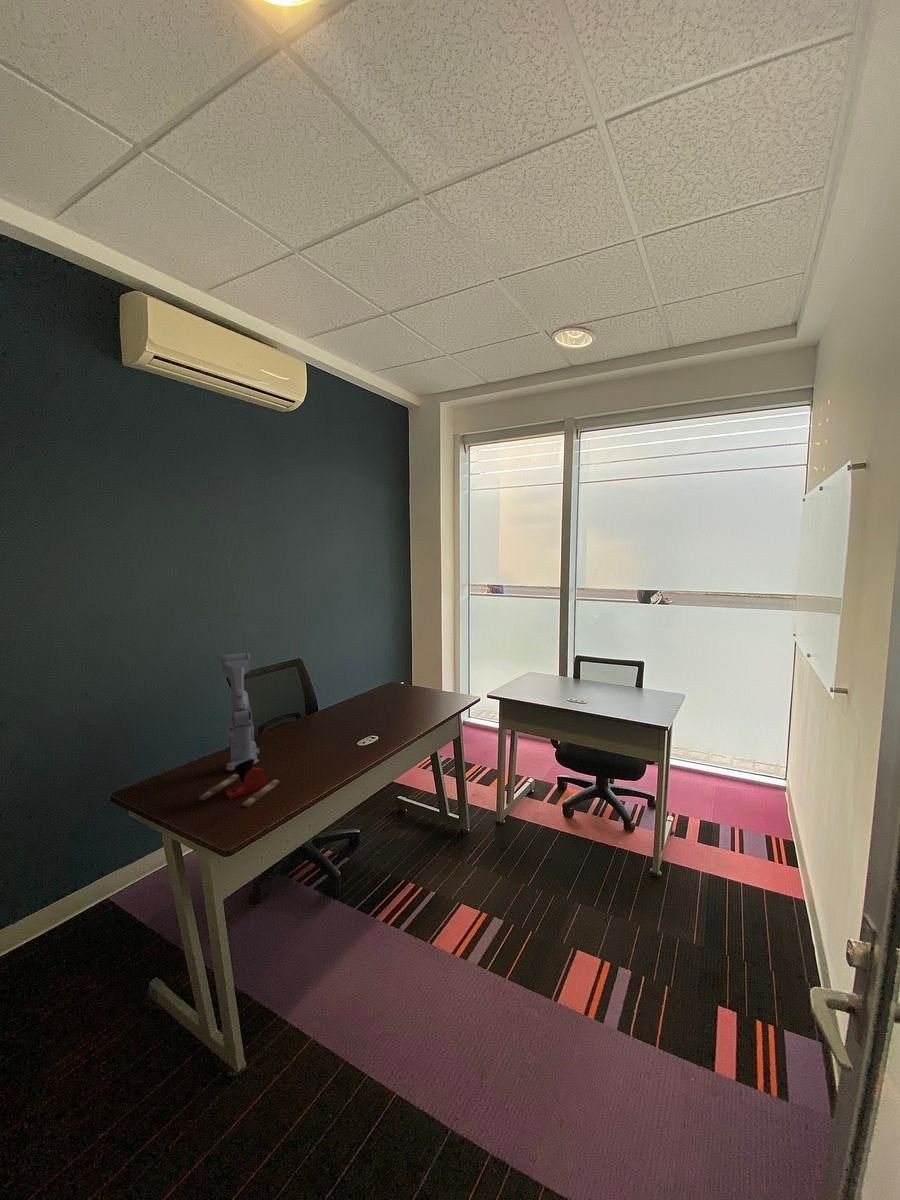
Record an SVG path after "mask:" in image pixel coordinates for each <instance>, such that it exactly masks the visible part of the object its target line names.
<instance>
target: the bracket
mask: <svg viewBox="0 0 900 1200" xmlns="http://www.w3.org/2000/svg"><path fill="white" fill-rule="evenodd" d="M255 775H256V776H258V777H257V780H255V781H252V778H253V776H255ZM243 784H244V785H241V786H239V787H235V788H231V789H228V790H226V796H227V797H228V799H229V800H230V799H231V800H232V799H233V798H238V797H240V796H243V795H247V794H250V793H253V792H254V793H255V792H258V791H260V790H261V789H262V788H264V787H265V786H266V785H267V782H266V774H265V771H264V770H263V769H262V768H260V767H254V768H253V767H252V768H251V770H249V771H248V772H247V773H246V775H245V777H244V782H243Z"/></svg>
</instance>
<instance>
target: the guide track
mask: <svg viewBox="0 0 900 1200" xmlns="http://www.w3.org/2000/svg"><path fill="white" fill-rule="evenodd" d="M237 779H240V777H239V774H235V773H234V774H232V775H231V776H229V777H228V778H226V779H225V780H223V781H221V782H220V783H218V784H217V785H215V786H212V787H210V788H209V789H207V791H206V792H204V793H203V794H201V795H199V796H198V799H199V801H206V800H207V799H208V798H210V797H212V796H213V795H215V794H217V793H218V792H220V791H221V790H223V789H224V788H225V787H227V786H228V785H230V784H232V783H233V782H234V781H235V780H237ZM278 784H280V779H273V780H272V781H271V782H269V783H268V784H266V786H265V787H264V788H262V789H261V790H257V791H255V792H254V793H253V794H251V795H250V796H249V798H247V799H246V800H245V801H244V802H243V803H241V804H242V807H243V808H249V807H250V806H251V805H253V804H254V803H255V802H257V801H258V800H260V798H262V797H263V796H264V795H266V794H267V793H268V792H269V791H271V790H272V789H273V788H275V787H276V786H277V785H278Z"/></svg>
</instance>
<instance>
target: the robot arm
mask: <svg viewBox="0 0 900 1200" xmlns="http://www.w3.org/2000/svg"><path fill="white" fill-rule="evenodd" d="M220 658H221V671H222V675H223V676H224V677H228V679H229V680H230V691H231V694H230V706H231V707H230V708H231V713H230V720H229V721H228V723H226V726H225V741H226V743H225V744H226V745H227V746H229V747H230V748H229V749H230V761H229V762H228V763H227V764H226V767H225V769H226V771H236V772H237V775H239V780H240V782H241V783H244V777H245V775H246V773H247V772H248V771H249V770H251V769H253V766H254V765H255V764H256V763H258V762H259V761H260V759H258V755H259V754H260V748H259V747H257V744H256V742H255V729H254V721H253V717H252V716H253V714H252V709H251V706H250V702H249V693H248V692H247V691H245V690H244V689H245V686H244V685H245V684H244V683H245V675H246V674H249V673H250V670H251V654H250V653H249V652H245V653H244V652H243V653H235V654H222V656H221V657H220Z"/></svg>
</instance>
